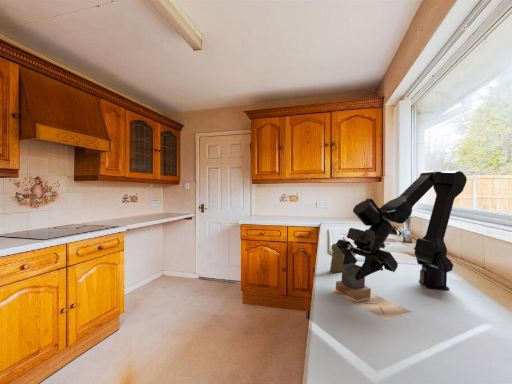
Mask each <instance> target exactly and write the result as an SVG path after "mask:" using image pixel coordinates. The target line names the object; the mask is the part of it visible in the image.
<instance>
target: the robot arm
mask: <svg viewBox="0 0 512 384" xmlns="http://www.w3.org/2000/svg"><path fill="white" fill-rule="evenodd" d="M467 180H468V178H467V176H466V174H465V173H464V172H463V171H459V170H454V171H437V170H429V171H428V170H426V171H423V172H420V174H419V176H418V177H417V178H416V179H415V180H414V181H413V182H412V183H411V184H410V185H409V186H408V187H407V188H406V189H405V190H404V191H403V192H402V193H401V194H400V195H399V196H397V197H396V198H393V199H391V200H388V201H387V202H385V203H384V204H383V205H381V207H379V206H378V205H377V204H376V203H375V201H374V200H373V199H372V198H366V199H365V200H363V201H361V202H359V203H358V204H355V206H353V207H354V208H353V210H352V211H353V212H352V213H354V215H355V216H356V217H357V218H358V219H359V220H360V221H361V222H362V224H363V225H364V226H367V227H369V228H368V229H367V228H366V229H365V230H362V229H358V228H354V227H349V229H348V232H347V235H346V238H347V239H350V240H351V241H353V242H352V243H353V244H352V243H351V242H350V241H348V240H345V239H338V240H337V241H336V243H335V244H336V246H337V247H338V248H339V250H340V251H341V252H342V253H343V254H344V261H343V264H349V263H353V264H357V262H358V260H357V258H356V255H358V256H361V257H364V261H363V264H362V265H361V268H360V270H359V271H358V273H357V275H356V277H355V279H356V280H360V279H362V278H364V277H365V278H366V277H368V276H370V275H371V274H374V273H376V272H379V271H383V270H386V271H389V272H392V273H395V271H396V270H397V269H398V266H399V264H398V261H397V260H396V259H395V257H394V256H393V255H392V252H391V251H386V250H382V249H385V248H386V245H385V242H386V240H387V238H388V237H389V236H390V235H394V236H396V235H398V231H397V228H396V226H395V225H392V224H391V223H395V224H404V223H406V222H407V220H408V219H409V217H411V215H412V212H413V207H414V206H415V205H416V203H418V202H419V201H420V200H421V199H422V198H423V197H424V195H426V194H427V192H429V191H430V190H431V188H432V187H433V190H434V192H435V195H436V196H435V200H434V202H433V203H434V204H433V207H432V211H431V215H430V218H429V222H428V226H427V229H426V231H425V235H424V236H423V237H422V238H417V239H416V242H415V246H414V247H413V250H414V256H415V258H416V262H417V264H418V265H421V269H420V270H419V279H418V282H419V283H421V284H422V285H423V286H424V287H426V288H428V289H436V290H437V289H438V290H447V291H449V290H450V287H449V286H447V279H448V277H447V276H448V273H450V272H452V271H453V268H454V264H453V262H452V261H451V260H450V259H449V258H448V256H447V251H448V249H447V246H446V243H445V240H444V239H445V236H446V231H447V229H448V224H449V220H450V217H451V213H452V208H453V205H454V202H455V199H456V198H457V197H458V196H459V195H460V194H461V193H462V192H464V189H465V186H466V184H467ZM355 246H356V247H355ZM340 274H342V270H341V273H340Z"/></svg>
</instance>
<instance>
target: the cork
mask: <svg viewBox="0 0 512 384" xmlns="http://www.w3.org/2000/svg"><path fill="white" fill-rule="evenodd" d="M330 248H331V252H332V254H331V261H330V268H329V273H331V274H333V275H337V274H342V273H341V270H342V265H343V261H344V254H343V253H342V252H341V251H340V250H339V248H338V247H337V246H336V243H332V245H331V247H330Z"/></svg>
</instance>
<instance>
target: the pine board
mask: <svg viewBox="0 0 512 384" xmlns="http://www.w3.org/2000/svg"><path fill="white" fill-rule="evenodd" d="M330 291H331V292H333V293H335V294H337V295H339V296H341V297H342V298H345V299H347V300H348V301H350V302H352V303H353V304H355V305H357V306H359V307H360V308H362V309H365V310H366V311H368V312H370V313H372V314H374V315H375V316H378V317H379V318H382V319H383V320H385V321H388V320H391V319H395V318H397V317H401V316H404V315H407V314H411V313H412V312H413V311H412V310H409V309H407V308H405V307H403V306H401V305H399V304H397V303H395V302H392V301H391V300H388V299H385V298H384V297H381V296H379V295H377V294H374V293H373V292H371V298H370V299H366V300H362V301H358V302H356V301H354V300H352V299H350V298H348V297H347V296H345V295H343V294H341V293H339V292H337V291H336V288H335V289H334V288H333V289H331V290H330Z"/></svg>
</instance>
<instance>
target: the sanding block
mask: <svg viewBox="0 0 512 384" xmlns="http://www.w3.org/2000/svg"><path fill="white" fill-rule="evenodd" d="M361 267H362V265H358V264H357V263H355V264H353V263H349V264H343V265H342V273H341V280H337V281H335V289H336V291H337V292H339V293H341V294H343V295H345V296H347V297H348V298H350V299H352V300H354V301H356V302H358V301H362V300H366V299H370V298H371V293H372V288H370V287H368V286H367V285H366V282H365V281H366V277H364V278H362V279H360V280H356V279H355V277H356V275H357V273H358V271H359V270H360V268H361Z"/></svg>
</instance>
